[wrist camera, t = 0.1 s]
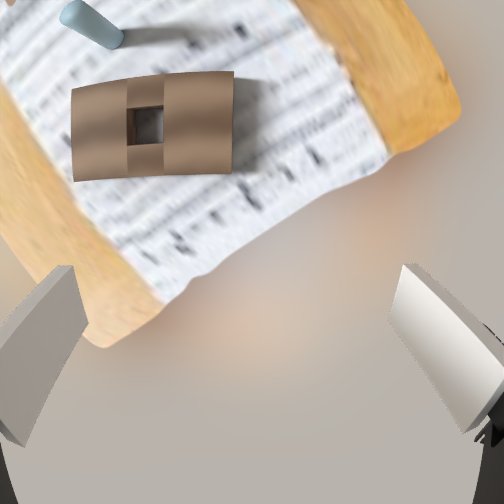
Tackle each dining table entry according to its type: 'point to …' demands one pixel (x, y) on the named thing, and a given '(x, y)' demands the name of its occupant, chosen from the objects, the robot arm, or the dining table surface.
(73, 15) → the peg
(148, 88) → the hole block
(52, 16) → the dining table surface
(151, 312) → the dining table surface
